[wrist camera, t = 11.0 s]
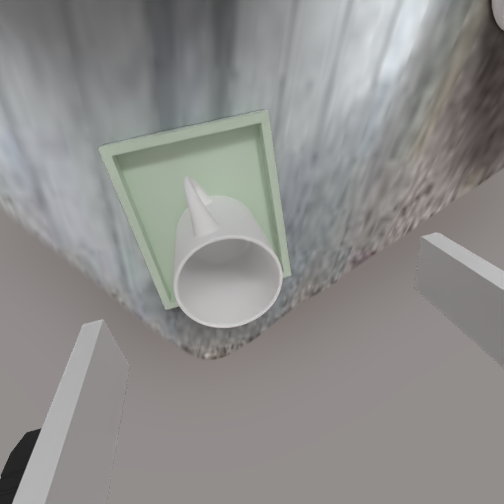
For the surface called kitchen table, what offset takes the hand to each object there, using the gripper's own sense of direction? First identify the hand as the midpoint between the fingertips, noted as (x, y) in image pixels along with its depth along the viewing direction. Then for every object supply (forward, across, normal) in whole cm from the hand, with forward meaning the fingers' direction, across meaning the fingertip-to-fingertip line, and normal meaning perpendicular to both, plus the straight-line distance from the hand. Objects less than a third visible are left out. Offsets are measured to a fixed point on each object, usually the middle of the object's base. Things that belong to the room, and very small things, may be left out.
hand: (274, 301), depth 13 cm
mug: (+21, -2, -4) cm, 21 cm away
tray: (+21, -2, -4) cm, 22 cm away
